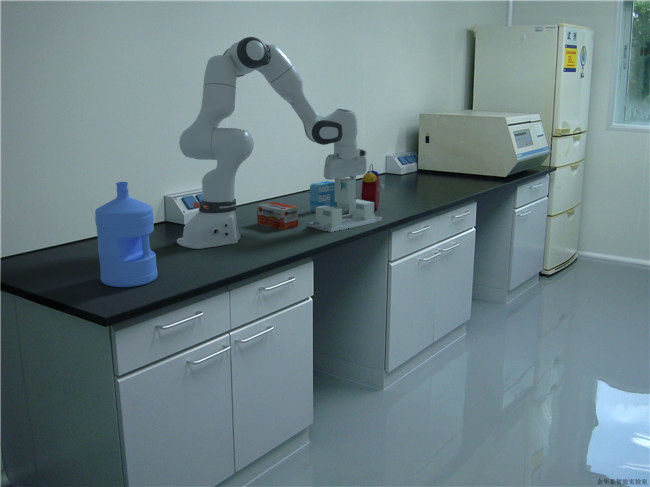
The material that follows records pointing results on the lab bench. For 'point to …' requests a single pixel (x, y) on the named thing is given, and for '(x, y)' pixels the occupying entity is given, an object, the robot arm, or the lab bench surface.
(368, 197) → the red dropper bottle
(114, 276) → the water jug
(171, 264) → the lab bench surface
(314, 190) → the blue printed box
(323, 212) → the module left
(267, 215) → the medicine box
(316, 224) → the din rail
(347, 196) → the block
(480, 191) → the lab bench surface
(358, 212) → the block
